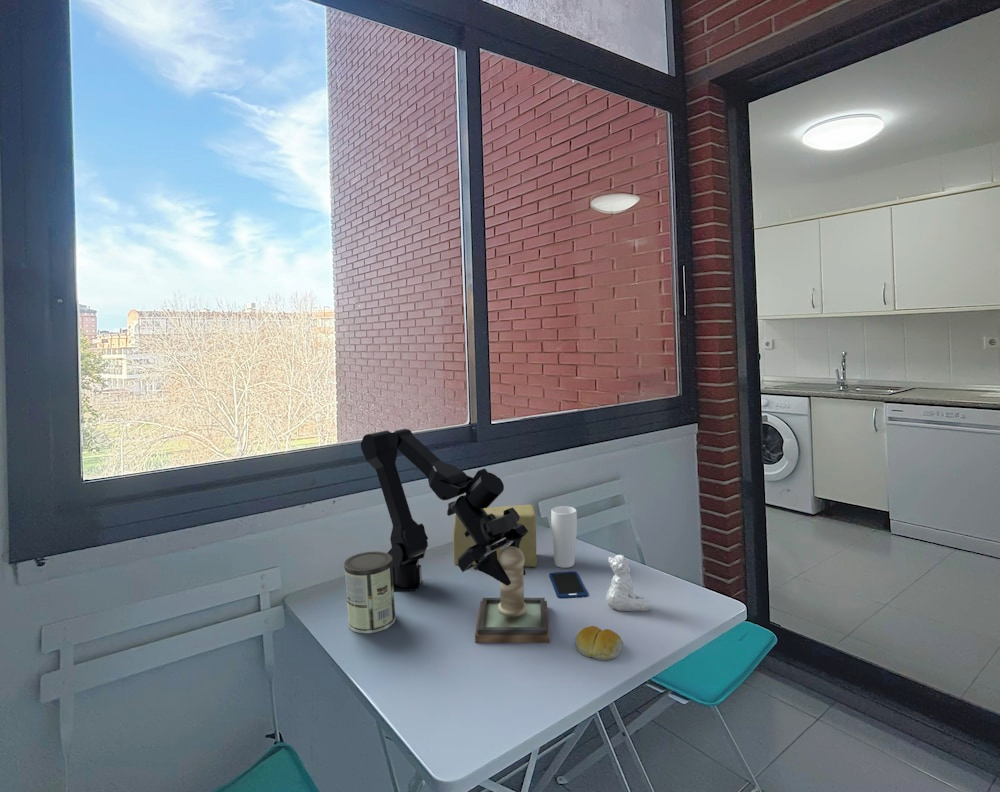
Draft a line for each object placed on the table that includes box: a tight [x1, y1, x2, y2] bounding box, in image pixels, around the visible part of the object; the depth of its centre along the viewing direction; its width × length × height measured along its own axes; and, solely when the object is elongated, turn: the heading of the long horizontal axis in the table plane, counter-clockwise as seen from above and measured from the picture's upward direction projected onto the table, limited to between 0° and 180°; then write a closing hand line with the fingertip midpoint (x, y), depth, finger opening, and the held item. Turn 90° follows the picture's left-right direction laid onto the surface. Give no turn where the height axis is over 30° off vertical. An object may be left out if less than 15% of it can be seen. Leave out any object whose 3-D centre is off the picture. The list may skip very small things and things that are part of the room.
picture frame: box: [474, 597, 550, 644], centre depth 127 cm, size 15×15×2 cm
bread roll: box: [575, 625, 624, 661], centre depth 117 cm, size 8×9×4 cm
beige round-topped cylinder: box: [498, 546, 526, 617], centre depth 126 cm, size 6×6×14 cm
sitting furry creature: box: [605, 554, 651, 612], centre depth 134 cm, size 10×9×12 cm
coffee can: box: [343, 551, 396, 634], centre depth 129 cm, size 10×10×14 cm
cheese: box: [452, 504, 538, 568], centre depth 159 cm, size 22×10×15 cm, turn 92°
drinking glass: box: [550, 505, 578, 569], centre depth 157 cm, size 7×7×15 cm
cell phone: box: [548, 570, 589, 599], centre depth 146 cm, size 7×14×1 cm, turn 5°
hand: (516, 579), depth 126 cm, fingers closed on beige round-topped cylinder, 5 cm apart
